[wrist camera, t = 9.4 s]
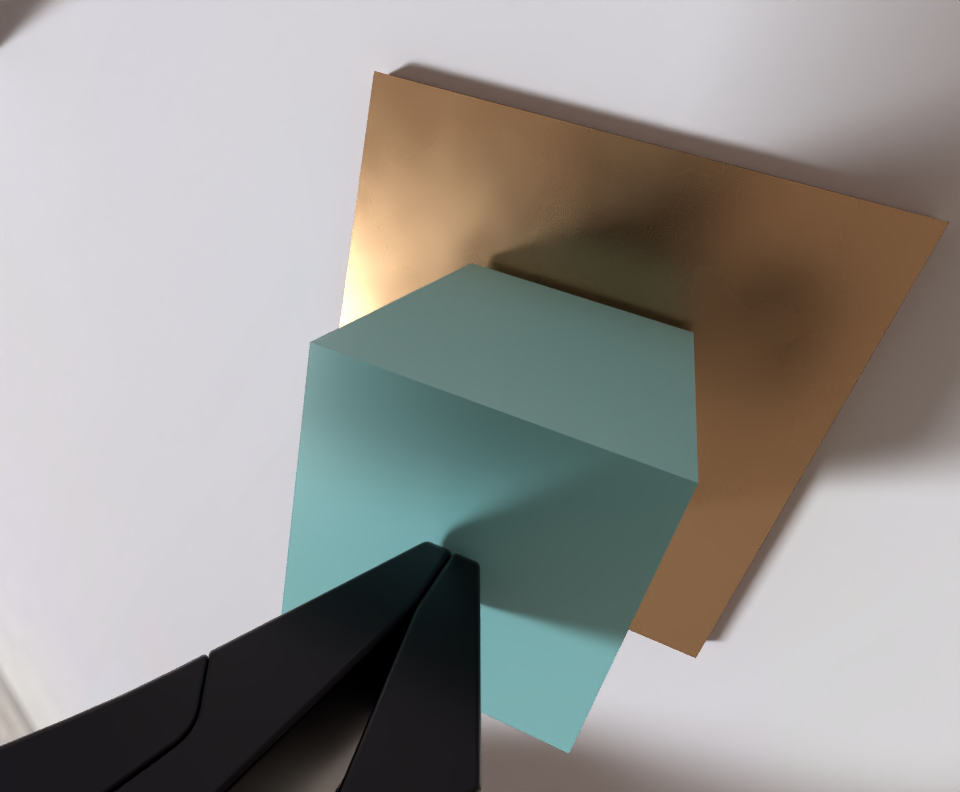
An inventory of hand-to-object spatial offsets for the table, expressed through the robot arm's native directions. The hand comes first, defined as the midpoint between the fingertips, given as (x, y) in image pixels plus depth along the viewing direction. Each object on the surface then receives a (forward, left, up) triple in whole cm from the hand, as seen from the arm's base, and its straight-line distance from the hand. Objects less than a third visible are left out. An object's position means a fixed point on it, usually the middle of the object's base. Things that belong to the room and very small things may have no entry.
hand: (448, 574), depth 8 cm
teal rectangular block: (0, 0, -7) cm, 7 cm away
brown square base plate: (0, 0, -8) cm, 8 cm away
